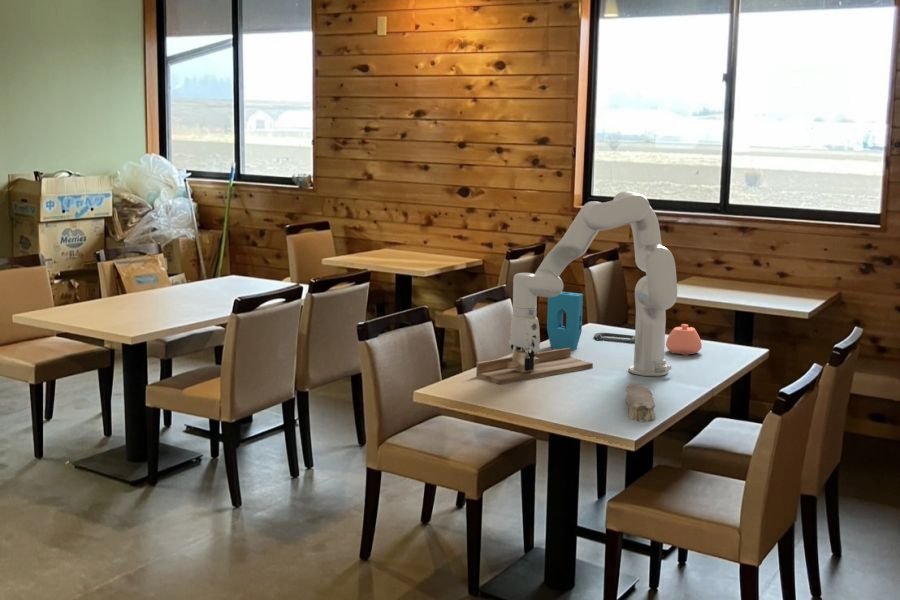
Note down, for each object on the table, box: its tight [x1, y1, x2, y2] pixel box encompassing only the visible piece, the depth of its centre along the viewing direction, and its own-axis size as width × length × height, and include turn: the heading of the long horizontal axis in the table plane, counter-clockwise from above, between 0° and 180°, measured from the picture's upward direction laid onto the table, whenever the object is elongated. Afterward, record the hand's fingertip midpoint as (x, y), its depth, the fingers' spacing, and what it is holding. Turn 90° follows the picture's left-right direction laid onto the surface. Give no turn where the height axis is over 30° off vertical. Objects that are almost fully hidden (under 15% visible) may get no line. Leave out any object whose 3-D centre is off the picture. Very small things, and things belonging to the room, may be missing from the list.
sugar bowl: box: [665, 323, 703, 357], centre depth 346 cm, size 12×14×10 cm
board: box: [476, 348, 594, 385], centre depth 317 cm, size 12×39×4 cm, turn 125°
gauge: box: [507, 348, 540, 372], centre depth 311 cm, size 5×12×7 cm, turn 125°
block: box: [546, 291, 584, 351], centre depth 350 cm, size 12×5×20 cm, turn 59°
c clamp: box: [593, 332, 635, 345], centre depth 366 cm, size 20×17×3 cm
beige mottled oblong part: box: [625, 383, 656, 423], centre depth 276 cm, size 24×8×5 cm, turn 175°
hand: (523, 367), depth 312 cm, fingers closed on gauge, 5 cm apart
